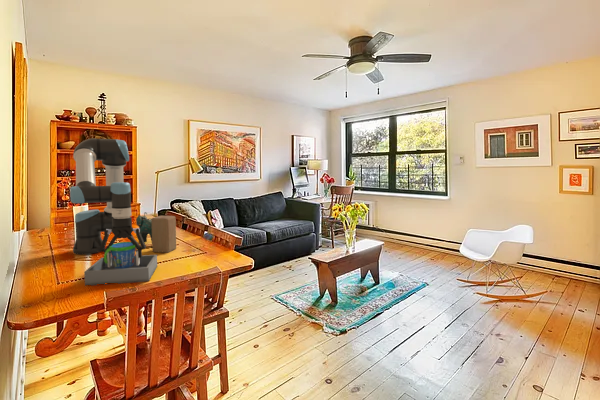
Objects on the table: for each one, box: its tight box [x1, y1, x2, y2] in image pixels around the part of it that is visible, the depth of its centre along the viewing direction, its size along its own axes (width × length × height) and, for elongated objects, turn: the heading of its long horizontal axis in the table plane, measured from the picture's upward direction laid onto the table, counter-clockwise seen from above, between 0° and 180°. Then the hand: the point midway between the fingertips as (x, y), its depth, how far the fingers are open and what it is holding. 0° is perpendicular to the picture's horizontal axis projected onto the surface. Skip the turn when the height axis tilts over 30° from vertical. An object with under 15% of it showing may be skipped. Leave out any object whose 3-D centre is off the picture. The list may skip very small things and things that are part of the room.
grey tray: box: [83, 254, 158, 287], centre depth 139 cm, size 24×20×6 cm
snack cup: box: [103, 241, 136, 269], centre depth 138 cm, size 16×10×10 cm
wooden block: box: [150, 215, 177, 254], centre depth 179 cm, size 10×10×20 cm
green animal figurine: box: [135, 212, 152, 243], centre depth 195 cm, size 20×6×20 cm, turn 55°
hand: (124, 265), depth 139 cm, fingers closed on snack cup, 11 cm apart
